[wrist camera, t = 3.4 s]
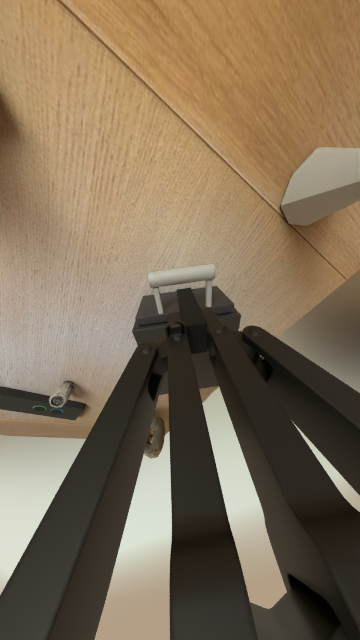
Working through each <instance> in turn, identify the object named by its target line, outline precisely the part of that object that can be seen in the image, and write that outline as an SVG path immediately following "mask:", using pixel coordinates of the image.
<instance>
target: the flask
mask: <svg viewBox="0 0 360 640" xmlns="http://www.w3.org/2000/svg"><path fill="white" fill-rule="evenodd" d="M358 201H360V148H328V147H322V148H316V150H315V151H314V152H313V153H312V154H311V155H310V156H309V157H308V158H307V159H306V160H305V161H304V163H303V164H302V165H301V166H300V167H299V168H298V169H297V170H296V171H295V172H294V173H293V174H292V177H291V180H290V182H289V185H288V187H287V190H286V192H285V195H284V198H283V200H282V203H281V205H280V206H281V208H282V210H283V212H284V215H285V217H286V219H287V221H288V223H289V224H294V225H302V226H307V225H310V224H312V223H314V222H316V221H318V220H320V219H322V218H324V217H326V216H328V215H330V214H332V213H334V212H336V211H338V210H340V209H342V208H345V207H347V206H349V205H351V204H353V203H355V202H358Z"/></svg>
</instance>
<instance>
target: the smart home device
mask: <svg viewBox="0 0 360 640" xmlns="http://www.w3.org/2000/svg"><path fill="white" fill-rule="evenodd" d="M49 398H50V396H45V395H40V394H35V393H30V392H25V391H20V390H15V389H10V388H5V387H0V409H3V410H10V411H16V412H23V413H30V414H36V415H43V416H50V417H56V418H63V419H70V420H76V418H77V417H78V416H79V415H80V414H81V412H82V411H83V410H84V407H85V405H86V404H84V403H79V402H74V401H69V400H67V402H66V403H65V404H64V405H63V406H62V407H58V408H55V407H52V406H51V405H50V402H49Z"/></svg>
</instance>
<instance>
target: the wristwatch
mask: <svg viewBox="0 0 360 640" xmlns="http://www.w3.org/2000/svg"><path fill="white" fill-rule="evenodd" d="M72 388H73V386H72V382H66V381H65V382H64V383H63V384H62V385H61V386H60V387H59V389H58V390H57V391H56V392H55V393H54V394H53V395H52V396H51V397H50V398H49V402H50V405H51V406H52V407H55V408H58V407H62V406H63V405H64V404H65V403H66V402H67V400H68V398H69V396H70V394H71V392H72Z"/></svg>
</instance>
